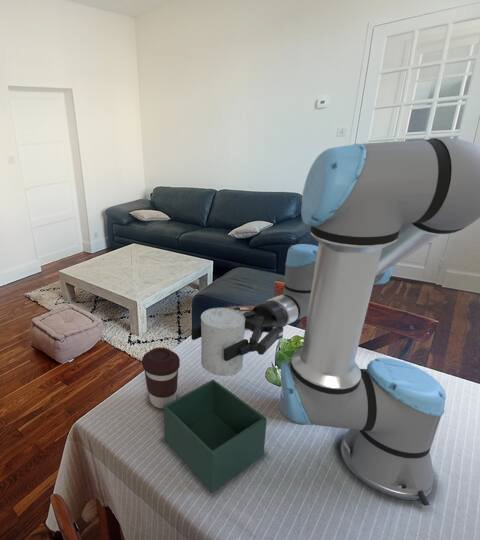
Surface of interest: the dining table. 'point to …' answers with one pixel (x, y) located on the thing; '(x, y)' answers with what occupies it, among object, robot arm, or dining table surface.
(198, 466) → the bin
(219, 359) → the white mottled cylinder
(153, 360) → the coffee cup
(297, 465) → the dining table surface
